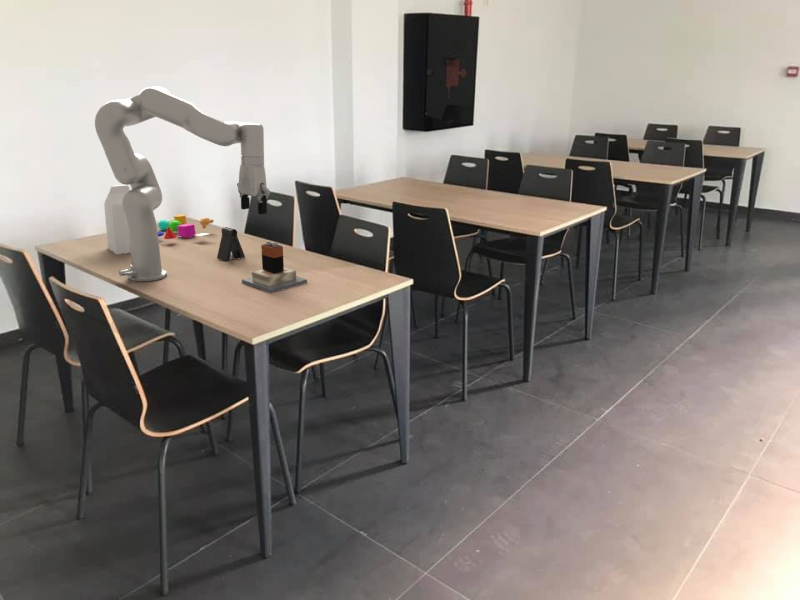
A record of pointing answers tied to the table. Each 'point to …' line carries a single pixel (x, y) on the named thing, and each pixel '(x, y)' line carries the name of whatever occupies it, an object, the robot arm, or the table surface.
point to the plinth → (273, 276)
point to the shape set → (181, 227)
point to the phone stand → (229, 245)
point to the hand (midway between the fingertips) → (253, 211)
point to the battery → (272, 257)
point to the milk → (116, 220)
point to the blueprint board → (277, 286)
